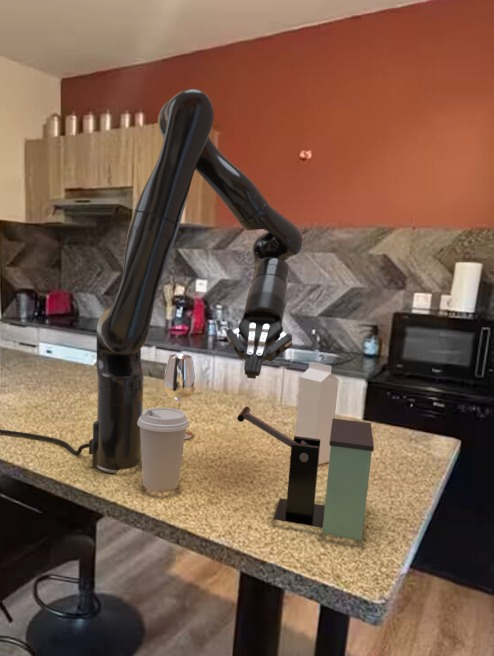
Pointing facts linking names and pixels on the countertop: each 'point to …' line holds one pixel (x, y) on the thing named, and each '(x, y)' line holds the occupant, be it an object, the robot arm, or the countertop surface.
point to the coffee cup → (162, 447)
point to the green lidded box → (347, 478)
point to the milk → (317, 406)
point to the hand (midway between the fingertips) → (251, 375)
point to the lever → (266, 427)
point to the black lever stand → (302, 486)
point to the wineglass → (179, 380)
